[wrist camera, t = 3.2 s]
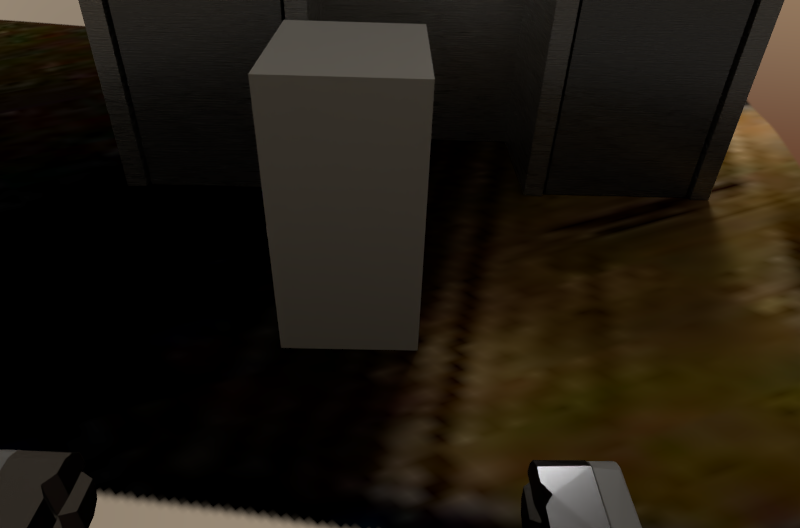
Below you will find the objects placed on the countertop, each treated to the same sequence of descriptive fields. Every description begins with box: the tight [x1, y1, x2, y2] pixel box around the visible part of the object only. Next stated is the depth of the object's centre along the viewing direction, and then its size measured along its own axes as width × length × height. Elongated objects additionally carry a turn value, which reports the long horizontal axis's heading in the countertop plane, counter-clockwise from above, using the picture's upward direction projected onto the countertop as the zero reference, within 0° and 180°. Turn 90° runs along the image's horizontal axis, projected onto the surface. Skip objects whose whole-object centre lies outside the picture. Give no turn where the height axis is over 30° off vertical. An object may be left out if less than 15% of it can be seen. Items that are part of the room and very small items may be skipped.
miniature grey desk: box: [79, 0, 784, 200], centre depth 31 cm, size 31×9×13 cm, turn 90°
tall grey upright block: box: [248, 20, 435, 350], centre depth 21 cm, size 5×6×10 cm
